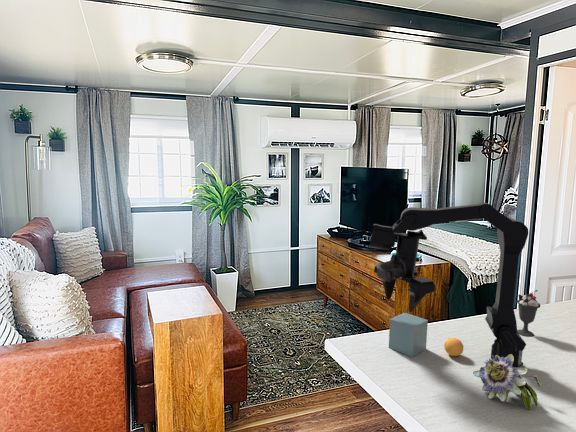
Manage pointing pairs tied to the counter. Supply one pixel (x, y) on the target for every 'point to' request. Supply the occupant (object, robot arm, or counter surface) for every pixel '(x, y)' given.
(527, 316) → the sundae
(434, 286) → the robot arm
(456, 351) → the ball
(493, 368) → the passion flower
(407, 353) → the grey-blue slanted prism
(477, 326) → the counter surface
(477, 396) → the counter surface
